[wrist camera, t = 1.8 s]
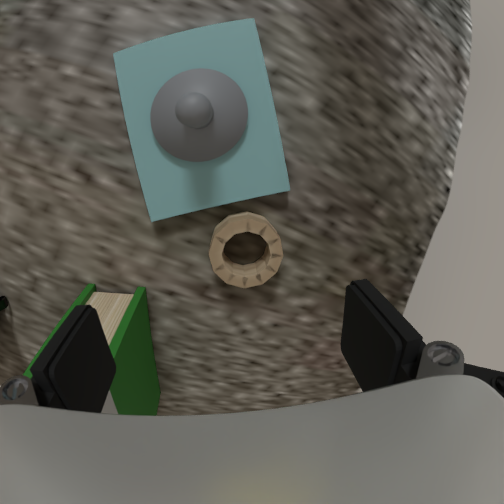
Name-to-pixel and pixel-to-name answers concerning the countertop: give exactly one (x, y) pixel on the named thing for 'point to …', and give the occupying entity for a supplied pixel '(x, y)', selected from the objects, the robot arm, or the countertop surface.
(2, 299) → the coffee press
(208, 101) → the teal plate with knob
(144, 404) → the hardback book
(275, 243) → the ring
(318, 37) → the countertop surface
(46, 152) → the countertop surface
